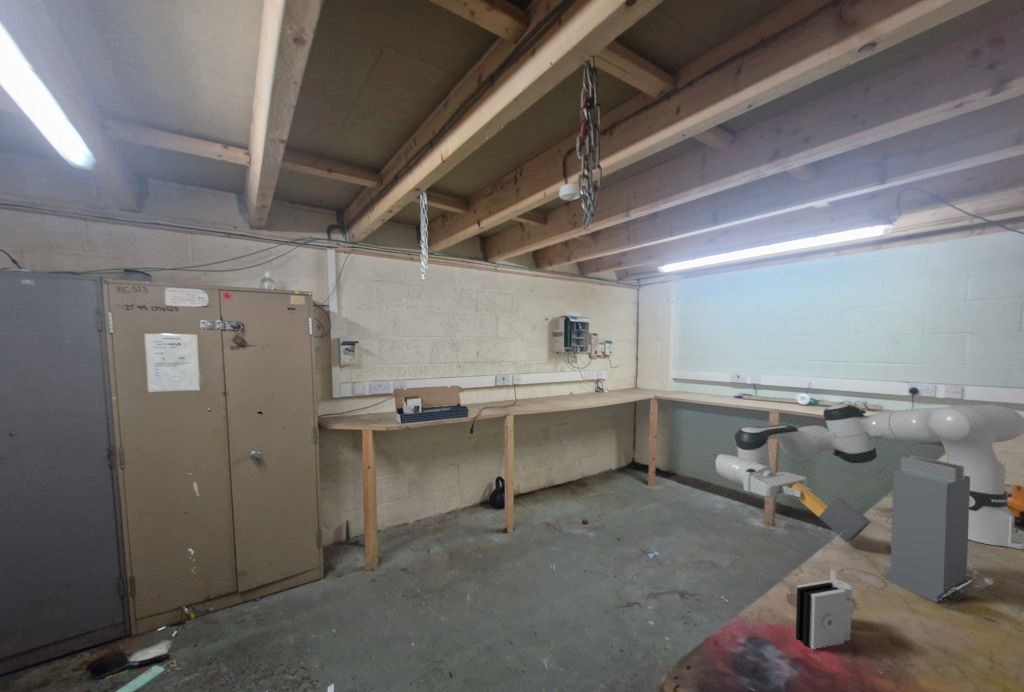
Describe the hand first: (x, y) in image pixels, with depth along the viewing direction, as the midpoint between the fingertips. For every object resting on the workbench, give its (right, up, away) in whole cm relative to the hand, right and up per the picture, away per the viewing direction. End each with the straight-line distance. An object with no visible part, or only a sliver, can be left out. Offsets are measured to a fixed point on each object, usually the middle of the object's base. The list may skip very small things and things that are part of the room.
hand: (806, 493), depth 116 cm
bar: (+1, -5, -3) cm, 6 cm away
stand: (+11, -12, -24) cm, 29 cm away
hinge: (-29, -12, -41) cm, 51 cm away
